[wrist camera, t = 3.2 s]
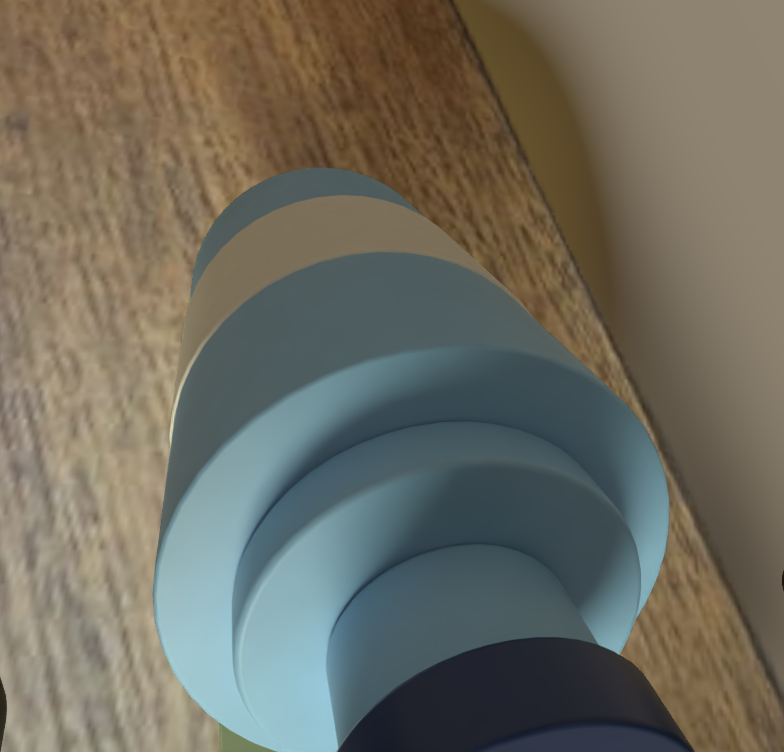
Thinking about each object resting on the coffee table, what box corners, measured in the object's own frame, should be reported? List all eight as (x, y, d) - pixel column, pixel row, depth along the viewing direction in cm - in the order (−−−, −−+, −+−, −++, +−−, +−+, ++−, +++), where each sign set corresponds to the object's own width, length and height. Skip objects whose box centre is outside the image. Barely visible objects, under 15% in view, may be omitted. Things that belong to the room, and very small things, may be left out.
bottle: (195, 265, 19) (77, -301, 7) (416, 256, 20) (612, -242, 9) (222, 781, 15) (66, 1295, 3) (494, 731, 16) (1044, 989, 5)
